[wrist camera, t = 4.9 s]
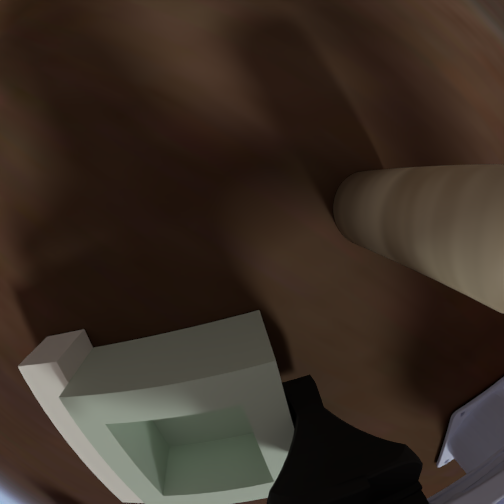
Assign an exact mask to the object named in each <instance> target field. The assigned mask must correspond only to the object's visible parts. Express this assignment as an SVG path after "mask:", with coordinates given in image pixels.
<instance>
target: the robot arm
mask: <svg viewBox="0 0 504 504" xmlns="http://www.w3.org/2000/svg"><path fill="white" fill-rule="evenodd" d="M282 385H283V389H284V393H285V397H286V401H287V404H288V408H289V412H290V416H291V419H292V422H293V425H294V429H295V430H294V435H293V439H292V442H291V446H290V449H289V452H288V455H287V457H286V460H285V462H284V464H283V467H282V469H281V471H280V473H279V475H278V477H277V479H276V481H275V482H274V484H273V486H272V487H271V489H270V491H269V495H268V499H267V504H504V377H503V378H501V379H500V380H499V381H497V382H496V383H495V384H494V385H492V386H491V387H490V388H488V389H487V390H486V391H484V392H483V393H481V394H480V395H479V396H477V397H476V398H474V399H473V400H471V401H470V402H468V403H467V404H465V405H464V406H462V407H461V408H459V409H458V410H456V411H455V412H454V413H453V414H452V415H451V418H450V422H449V426H448V429H447V433H446V436H445V439H444V443H443V446H442V449H441V452H440V455H439V458H438V461H437V464H436V466H437V467H441V466H443V465H445V464H446V463H448V462H449V461H451V460H453V459H455V460H456V461H457V462H458V464H459V465H460V466H461V467H462V469H463V470H464V471H465V472H466V475H465V476H463V477H462V478H460V479H459V480H457V481H456V482H454V483H453V484H451V485H450V486H448V487H446V488H445V489H443V490H441V491H440V492H438V493H436V494H435V495H433V496H431V497H429V498H428V499H426V497H425V495H424V494H423V492H422V491H421V490H422V486H421V484H420V482H419V481H418V479H419V476H420V473H421V470H422V462H421V460H420V459H419V457H418V456H417V455H416V454H415V453H414V452H413V451H412V450H411V449H410V448H409V447H408V446H407V445H405V444H401V443H396V442H392V441H388V440H385V439H381V438H378V437H375V436H373V435H371V434H368V433H366V432H364V431H361V430H359V429H357V428H355V427H353V426H351V425H349V424H348V423H346V422H344V421H343V420H341V419H339V418H338V417H336V416H335V415H334V414H332V413H331V412H330V411H328V410H327V409H326V408H324V406H323V403H322V400H321V397H320V394H319V391H318V389H317V386H316V383H315V381H314V380H313V378H312V377H311V375H307V376H304V377H301V378H297V379H294V380H290V381H287V382H283V383H282Z"/></svg>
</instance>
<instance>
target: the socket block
mask: <svg viewBox="0 0 504 504" xmlns="http://www.w3.org/2000/svg"><path fill="white" fill-rule="evenodd" d="M59 399H60V400H61V402H62V404H63V405H64V407H65V408H66V410H67V411H68V413H69V414H70V416H71V417H72V419H73V420H74V421H75V423H76V424H77V426H78V427H79V428H80V430H81V431H82V433H83V434H84V435H85V437H86V438H87V439H88V441H89V442H90V443H91V444H92V446H93V447H94V448H95V450H96V451H97V452H98V453H99V455H100V456H101V457H102V458H103V459H104V461H105V462H106V463H107V464H108V465H109V466H110V468H111V469H112V470H113V471H114V472H115V473H116V474H117V475H118V477H119V478H120V479H121V480H122V481H123V482H124V483H125V484H126V485H127V486H128V487H129V488H130V489H131V490H132V491H133V492H134V493H135V494H136V495H137V496H138V497H139V498H140V499H141V500H142V501H143V502H144V503H145V504H233V503H239V502H246V501H252V500H257V499H262V498H267V497H268V495H269V491H270V489H271V487H272V486H273V484H274V482H275V481H276V479H277V477H278V475H279V473H280V471H281V469H282V467H283V464H284V462H285V460H286V457H287V455H288V452H289V449H290V446H291V442H292V439H293V435H294V427H293V424H292V420H291V416H290V412H289V409H288V405H287V401H286V397H285V393H284V390H283V386H282V382H281V378H280V374H279V371H278V367H277V363H276V359H275V356H274V353H273V350H272V347H271V344H270V341H269V338H268V335H267V332H266V329H265V326H264V323H263V320H262V317H261V313H260V310H257V311H253V312H250V313H246V314H242V315H238V316H234V317H230V318H226V319H223V320H219V321H215V322H211V323H206V324H202V325H198V326H194V327H190V328H185V329H181V330H177V331H172V332H168V333H163V334H159V335H154V336H150V337H145V338H140V339H135V340H130V341H125V342H120V343H115V344H110V345H105V346H99V347H94V348H92V350H91V351H90V353H89V354H88V355H87V357H86V358H85V360H84V361H83V362H82V364H81V365H80V367H79V368H78V370H77V371H76V372H75V374H74V375H73V377H72V378H71V380H70V381H69V383H68V384H67V386H66V387H65V389H64V390H63V392H62V393H61V395H60V396H59Z"/></svg>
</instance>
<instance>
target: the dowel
mask: <svg viewBox="0 0 504 504" xmlns="http://www.w3.org/2000/svg"><path fill="white" fill-rule="evenodd" d="M333 214H334V219H335V222H336V225H337V227H338V229H339V231H340V232H341V233H342V235H343V236H344V237H345V238H346V239H348V240H349V241H351V242H352V243H355V244H357V245H359V246H362V247H364V248H366V249H368V250H371V251H373V252H375V253H377V254H380V255H382V256H384V257H386V258H389V259H391V260H393V261H395V262H397V263H400V264H402V265H404V266H406V267H408V268H410V269H413V270H415V271H417V272H419V273H421V274H423V275H425V276H428V277H430V278H432V279H434V280H436V281H438V282H440V283H442V284H444V285H446V286H448V287H450V288H452V289H455V290H457V291H459V292H461V293H463V294H465V295H467V296H469V297H471V298H473V299H475V300H477V301H478V302H480V303H482V304H484V305H486V306H488V307H490V308H492V309H494V310H496V311H498V312H500V313H504V164H478V165H444V166H424V167H408V168H394V169H381V170H370V171H360V172H356V173H354V174H352V175H350V176H349V177H347V178H346V179H345V180H344V181H343V182H342V183H341V185H340V186H339V188H338V190H337V192H336V195H335V198H334V203H333Z"/></svg>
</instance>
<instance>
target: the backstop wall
mask: <svg viewBox="0 0 504 504" xmlns="http://www.w3.org/2000/svg"><path fill="white" fill-rule="evenodd" d="M92 348H93V347H92V344H91V342H90V340H89V338H88V336H87V334H86V331H85V329H82V330H77V331H72V332H68V333H63V334H58V335H53V336H48V337H46V338H45V339H44V340H43V341H42V342H41V343H40V344H39V345H38V346H37V347H36V348H35V349H34V350H33V351H32V352H31V353H30V354H29V355H28V356H27V357H26V358H25V359H24V360H23V361H22V362H21V363H20V364H19V366H18V368H19V370H20V372H21V373H22V375H23V377H24V379H25V380H26V382H27V384H28V386H29V387H30V389H31V391H32V392H33V394H34V395H35V397H36V399H37V400H38V402H39V403H40V405H41V406H42V408H43V409H44V411H45V412H46V414H47V415H48V417H49V418H50V420H51V421H52V422H53V424H54V425H55V427H56V428H57V429H58V431H59V432H60V433H61V435H62V436H63V437H64V439H65V440H66V441H67V442H68V444H69V445H70V446H71V447H72V449H73V450H74V451H75V452H76V454H77V455H78V456H79V457H80V458H81V460H82V461H83V462H84V463H85V464H86V465H87V466H88V468H89V469H90V470H91V471H92V472H93V473H94V474H95V475H96V476H97V477H98V478H99V479H100V481H101V482H102V483H103V484H104V485H105V486H106V487H107V488H108V489H109V490H110V491H111V492H112V493H113V494H114V495H115V496H116V497H117V498H119V499H120V500H121V501H122V502H128V503H144V502H143V501H142V500H141V499H140V498H139V497H138V496H137V495H136V494H135V493H134V492H133V491H132V490H131V489H130V488H129V487H128V486H127V485H126V484H125V483H124V482H123V481H122V480H121V479H120V478H119V477H118V475H117V474H116V473H115V472H114V471H113V470H112V469H111V468H110V466H109V465H108V464H107V463H106V462H105V461H104V459H103V458H102V457H101V456H100V455H99V453H98V452H97V451H96V450H95V448H94V447H93V446H92V444H91V443H90V442H89V441H88V439H87V438H86V437H85V435H84V434H83V433H82V431H81V430H80V428H79V427H78V426H77V424H76V423H75V421H74V420H73V419H72V417H71V416H70V414H69V413H68V411H67V410H66V408H65V407H64V405H63V404H62V402H61V400H60V399H59V396H60V395H61V393H62V392H63V390H64V389H65V387H66V386H67V384H68V383H69V381H70V380H71V378H72V377H73V375H74V374H75V372H76V371H77V370H78V368H79V367H80V365H81V364H82V362H83V361H84V360H85V358H86V357H87V355H88V354H89V353H90V351H91V350H92Z"/></svg>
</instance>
